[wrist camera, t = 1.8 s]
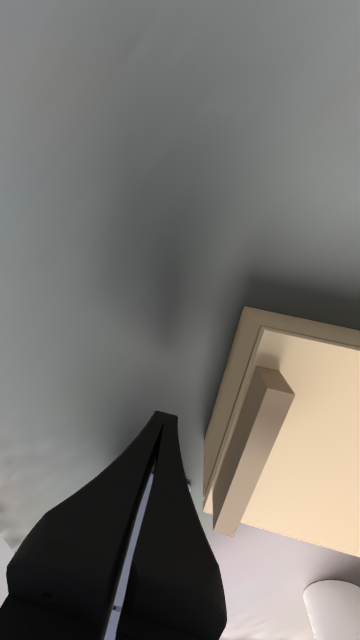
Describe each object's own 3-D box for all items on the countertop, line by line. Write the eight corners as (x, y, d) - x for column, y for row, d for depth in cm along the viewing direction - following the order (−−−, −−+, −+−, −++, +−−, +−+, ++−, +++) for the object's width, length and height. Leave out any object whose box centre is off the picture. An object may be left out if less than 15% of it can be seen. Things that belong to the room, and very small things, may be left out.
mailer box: (371, 485, 19) (429, 562, 14) (204, 440, 20) (203, 497, 15) (462, 352, 14) (588, 396, 10) (243, 305, 16) (259, 324, 11)
